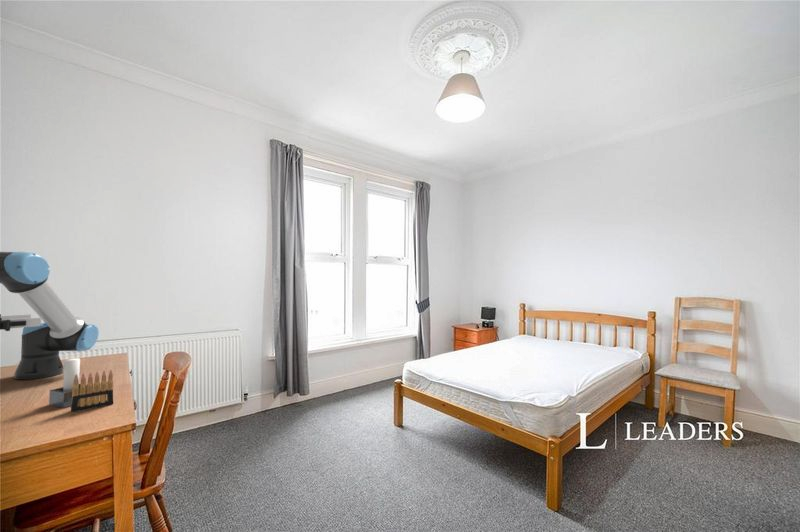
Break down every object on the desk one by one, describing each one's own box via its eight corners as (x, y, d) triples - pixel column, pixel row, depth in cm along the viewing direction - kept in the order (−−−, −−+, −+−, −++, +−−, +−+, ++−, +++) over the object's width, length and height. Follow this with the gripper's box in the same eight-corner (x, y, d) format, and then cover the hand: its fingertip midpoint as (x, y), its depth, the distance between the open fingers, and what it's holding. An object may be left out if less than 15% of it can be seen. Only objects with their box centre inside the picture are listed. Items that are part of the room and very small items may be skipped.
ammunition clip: (70, 412, 112) (72, 375, 112) (70, 410, 113) (72, 374, 113) (113, 404, 119) (114, 369, 120) (112, 402, 120) (114, 368, 121)
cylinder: (59, 400, 119) (61, 360, 119) (73, 397, 122) (75, 358, 123) (66, 402, 117) (68, 361, 118) (80, 398, 121) (82, 359, 122)
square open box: (49, 404, 117) (49, 390, 118) (77, 397, 125) (78, 383, 125) (63, 408, 115) (64, 393, 115) (91, 400, 122) (92, 386, 123)
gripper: (-78, 335, 102) (25, 327, 119) (-72, 346, 88) (44, 335, 106) (-77, 310, 102) (27, 306, 120) (-70, 317, 88) (45, 311, 106)
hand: (35, 319), depth 113 cm, fingers open, 13 cm apart
